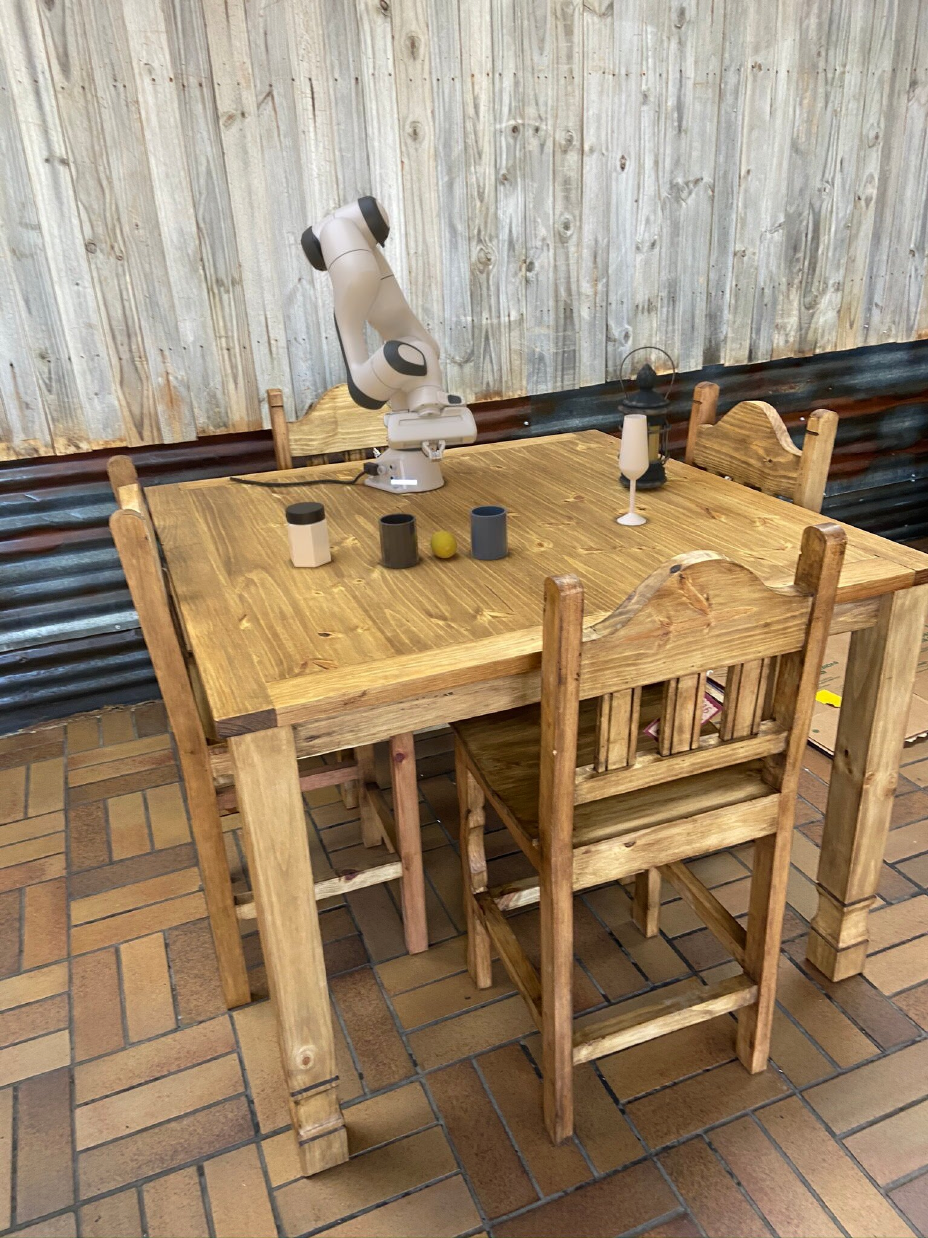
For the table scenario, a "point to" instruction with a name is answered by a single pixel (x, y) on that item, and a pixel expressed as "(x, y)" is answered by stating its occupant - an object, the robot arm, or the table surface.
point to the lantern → (649, 423)
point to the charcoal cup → (398, 540)
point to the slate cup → (488, 532)
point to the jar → (308, 534)
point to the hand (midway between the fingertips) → (436, 460)
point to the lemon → (443, 544)
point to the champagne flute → (633, 460)
